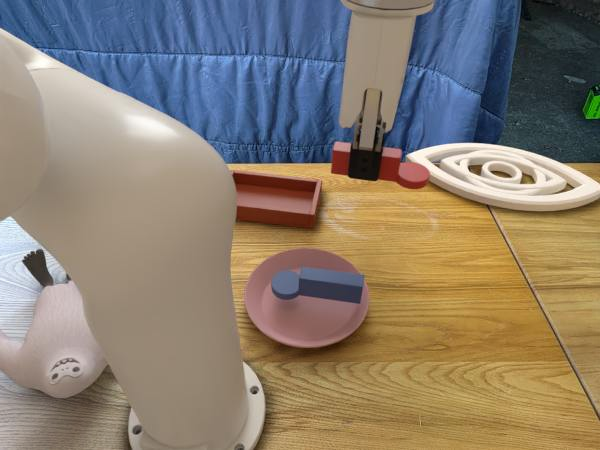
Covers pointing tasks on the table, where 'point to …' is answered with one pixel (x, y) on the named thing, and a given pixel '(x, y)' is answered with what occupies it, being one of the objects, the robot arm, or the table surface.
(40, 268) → the yeti figurine
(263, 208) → the tray
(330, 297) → the blue spoon
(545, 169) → the decorative sculpture
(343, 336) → the plate
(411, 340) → the table surface
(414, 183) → the red spoon
